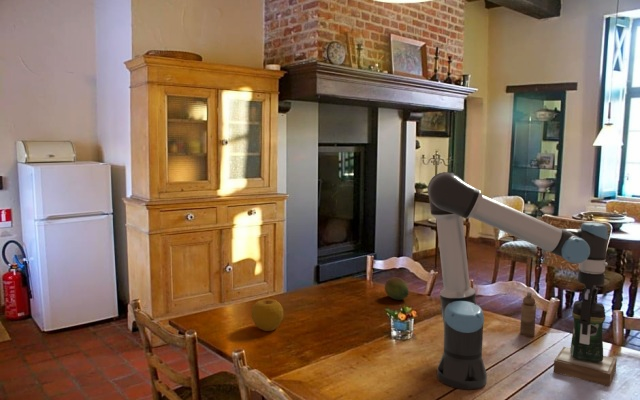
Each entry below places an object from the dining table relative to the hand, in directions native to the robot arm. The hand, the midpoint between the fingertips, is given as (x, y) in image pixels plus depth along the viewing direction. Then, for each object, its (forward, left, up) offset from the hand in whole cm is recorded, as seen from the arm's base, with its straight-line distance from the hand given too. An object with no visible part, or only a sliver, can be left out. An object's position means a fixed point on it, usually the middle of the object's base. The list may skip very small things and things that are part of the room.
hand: (587, 339), depth 164 cm
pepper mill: (+22, +24, -11) cm, 34 cm away
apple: (-36, +108, -11) cm, 114 cm away
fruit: (+31, +86, -11) cm, 92 cm away
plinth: (0, 0, -11) cm, 11 cm away
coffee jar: (0, 0, -6) cm, 6 cm away
